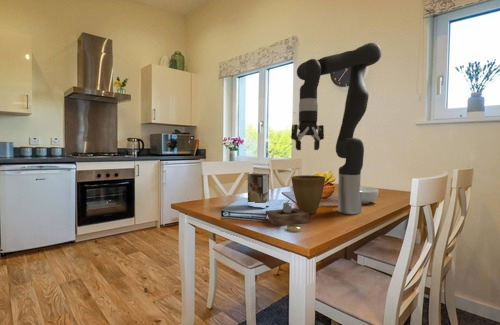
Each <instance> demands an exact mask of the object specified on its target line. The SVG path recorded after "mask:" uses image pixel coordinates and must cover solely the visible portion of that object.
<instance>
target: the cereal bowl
mask: <svg viewBox="0 0 500 325" xmlns="http://www.w3.org/2000/svg"><path fill="white" fill-rule="evenodd" d="M360 191H362V205H363V204H370V203H371V202H373V201H375V200H377V198H378V197H379V189H377V188H375V187H367V186H366V187H365V186H360Z"/></svg>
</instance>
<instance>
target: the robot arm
mask: <svg viewBox="0 0 500 325" xmlns="http://www.w3.org/2000/svg"><path fill="white" fill-rule="evenodd" d="M381 58H382V49H381V46H379V44H378V43H375V42H369V43H366V44H363V45H361V46H359V47H357V48H356V49H353V50H350V51H344V52H340V53H336V54H333V55H332V54H331V55H327V56H323V57H321V58H319V59H316V58H310V59H308V60H306V61H305V62H303V63H301V64H300V65H298V67H297V69H296V76H297V77H298V79H300V80H302V81H304V82H303V84H302V85H301V86H300V88H299V103H298V124H292V126H291V134H290V138H291V140H294V141H295V149H296V150H297V151H301V149H302V141H301V140H302V138H304V137H305V136H311V138H313V140H314V142H313V144H314V146H313V150H314V151H319V149H320V141H321V140H324V138H325V136H324V135H325V134H324V133H325V131H324V130H325V129H324V127H325V126H324V124H319V125H318V123H317V122H318V110H319V109H318V108H319V107H318V106H319V105H318V87H319V83H320V81H321V80H320V79H321V76H324V75H325V76H326V75H329V74H333V73H337V72H340V71H343V70H345V69H348V68H350V73H349V74H350V75H349V80H348V89H347V94H346V98H345V103H344V111H343V117H342V121H341V124H340V129H339V134H338V136H337V141H336V143H335V144H336V145H335V154H336V156H338V157H339V158H340V159H345V163H344V164H343V165H342V166H339V168H338V184H337V185H338V186H337V187H338V189H337V190H338V192H337V211H338V213H340V214H346V215H357V214H358V215H359V214H360V213H362V205H363V204H362V191H360V187H361V174H362V173H361V172H362V169H363V165H364V154H365V146H364V143H363V141H362V140H361V139H360V138H358V137H354V134H355V130H356V128H357V125H358V124H359V123H360V122H361V120H362V119H363V117H364V115H365V113H366V111H367V108H368V103H369V91H368V89H367V85H366V83H365V72H366V69H367V67H369V66H372V65H374V64H376V63H377V62H379V60H380V59H381ZM298 130H299V131H298Z"/></svg>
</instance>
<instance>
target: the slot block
mask: <svg viewBox="0 0 500 325" xmlns="http://www.w3.org/2000/svg"><path fill="white" fill-rule="evenodd" d="M266 214H267V215H268V217H269V221H268V222H269V223H270V224H272V225H274V226H275V227H282V226H288V225H293V224H294V225H299V224H308V223H310V214H309V213H306V212H304V211H302V210H299V208H297V207H294V208H292V207H291V214H283V208H281V209H274V210H273V209H271V210H265V215H266Z"/></svg>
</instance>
